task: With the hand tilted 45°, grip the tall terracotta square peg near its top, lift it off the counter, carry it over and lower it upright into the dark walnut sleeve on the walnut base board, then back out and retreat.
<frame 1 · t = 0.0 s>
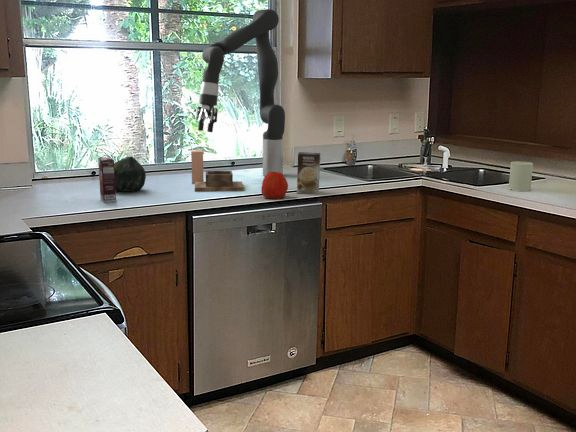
hand: (205, 131, 278), 22 cm above the countertop, tool pointing down, fingers open, 8 cm apart
terracotta peg: (197, 182, 281), on the countertop
squash: (127, 191, 260), on the countertop
apple: (274, 198, 250), on the countertop
coffee box: (308, 192, 261), on the countertop
supplement box: (108, 201, 240), on the countertop
can: (519, 190, 274), on the countertop
sleeve holder: (219, 188, 268), on the countertop
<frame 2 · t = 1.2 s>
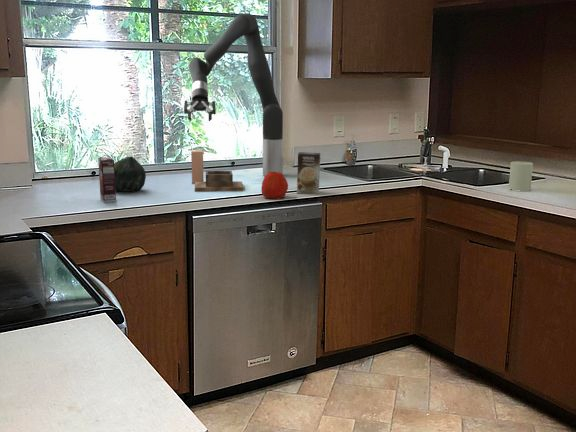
hand: (199, 119, 287), 27 cm above the countertop, tool tilted 45°, fingers open, 8 cm apart
nothing on the countertop moved.
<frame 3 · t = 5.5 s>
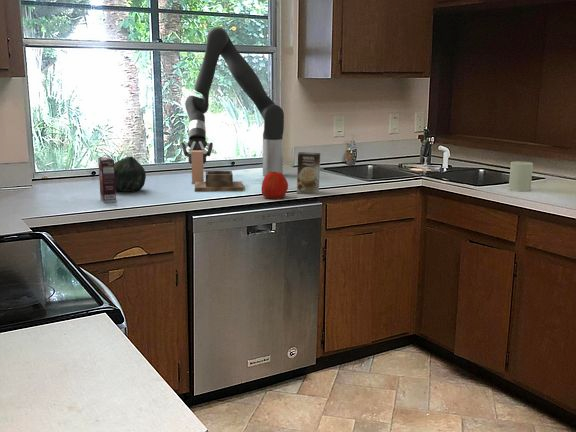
hand: (197, 162, 277), 9 cm above the countertop, tool tilted 45°, fingers closed on terracotta peg, 5 cm apart
terracotta peg: (197, 182, 281), on the countertop, touching gripper
everything else where it was.
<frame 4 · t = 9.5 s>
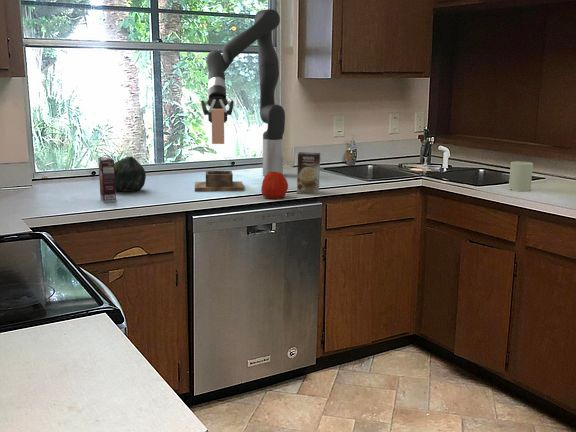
hand: (217, 121, 261), 28 cm above the countertop, tool tilted 45°, fingers closed on terracotta peg, 5 cm apart
terracotta peg: (218, 143, 264), point 19 cm above the countertop, touching gripper
everything else where it was.
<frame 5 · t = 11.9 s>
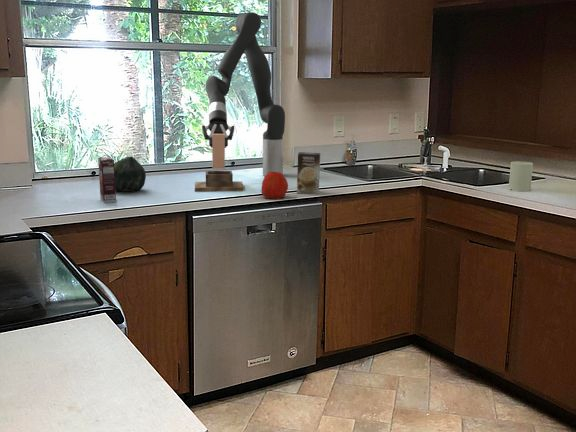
hand: (218, 146, 263), 18 cm above the countertop, tool tilted 45°, fingers closed on terracotta peg, 5 cm apart
terracotta peg: (218, 167, 266), point 9 cm above the countertop, touching gripper
everything else where it was.
when the fingers open (12 cm above the countertop, at t = 13.8 s): terracotta peg drops 1 cm, resting on sleeve holder.
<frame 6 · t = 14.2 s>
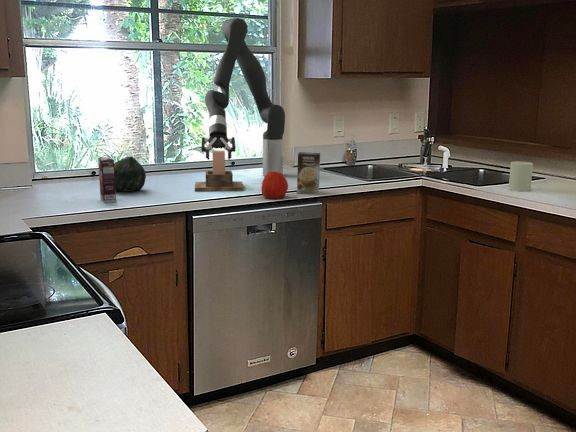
hand: (218, 158, 264), 13 cm above the countertop, tool tilted 45°, fingers open, 8 cm apart
terracotta peg: (219, 184, 268), point 1 cm above the countertop, touching sleeve holder
everything else where it was.
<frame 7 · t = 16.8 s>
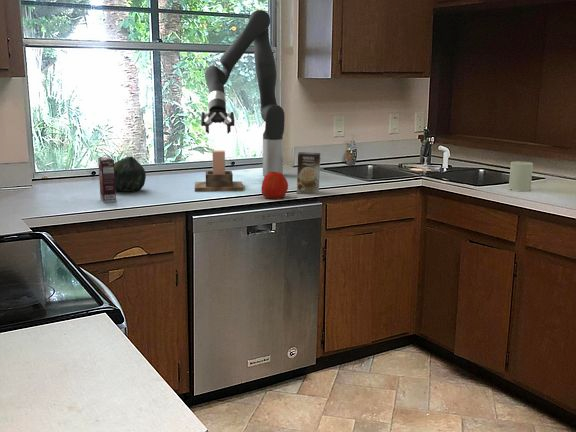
hand: (218, 132, 272), 23 cm above the countertop, tool tilted 45°, fingers open, 8 cm apart
nothing on the countertop moved.
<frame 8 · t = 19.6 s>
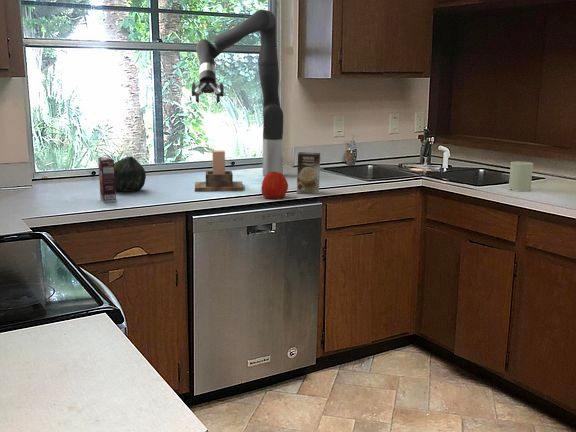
hand: (207, 101, 283), 35 cm above the countertop, tool tilted 45°, fingers open, 8 cm apart
nothing on the countertop moved.
at the end: terracotta peg 0.1 cm off-centre on the sleeve holder, point 1.5 cm above the sleeve holder's base; terracotta peg tilted 0°; the gripper is holding nothing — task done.
